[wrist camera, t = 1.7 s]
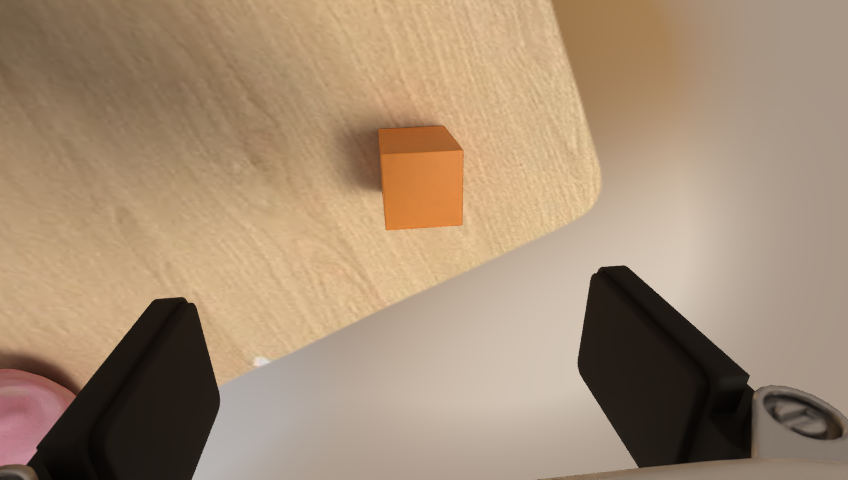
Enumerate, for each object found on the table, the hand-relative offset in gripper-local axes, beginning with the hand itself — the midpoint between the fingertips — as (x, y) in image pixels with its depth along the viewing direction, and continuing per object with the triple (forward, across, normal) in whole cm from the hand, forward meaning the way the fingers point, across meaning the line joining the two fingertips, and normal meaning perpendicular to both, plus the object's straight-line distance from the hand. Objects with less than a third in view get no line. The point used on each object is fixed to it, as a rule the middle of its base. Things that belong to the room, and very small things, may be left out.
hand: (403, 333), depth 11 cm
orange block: (+18, -2, +1) cm, 19 cm away
